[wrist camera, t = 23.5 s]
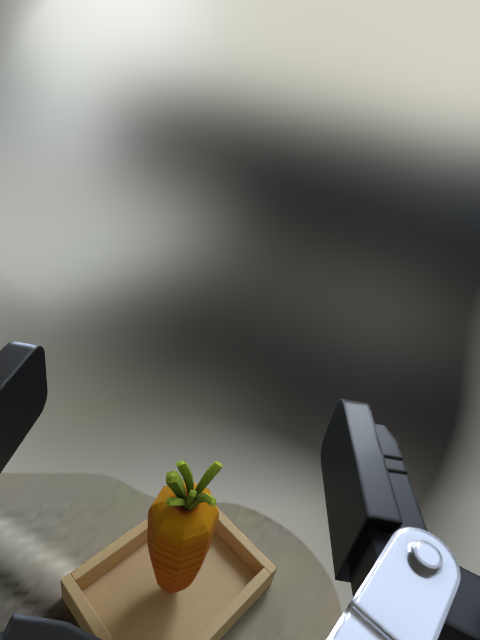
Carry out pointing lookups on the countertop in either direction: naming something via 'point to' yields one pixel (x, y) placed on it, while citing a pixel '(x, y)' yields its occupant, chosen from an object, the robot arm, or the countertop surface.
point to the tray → (159, 605)
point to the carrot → (181, 527)
